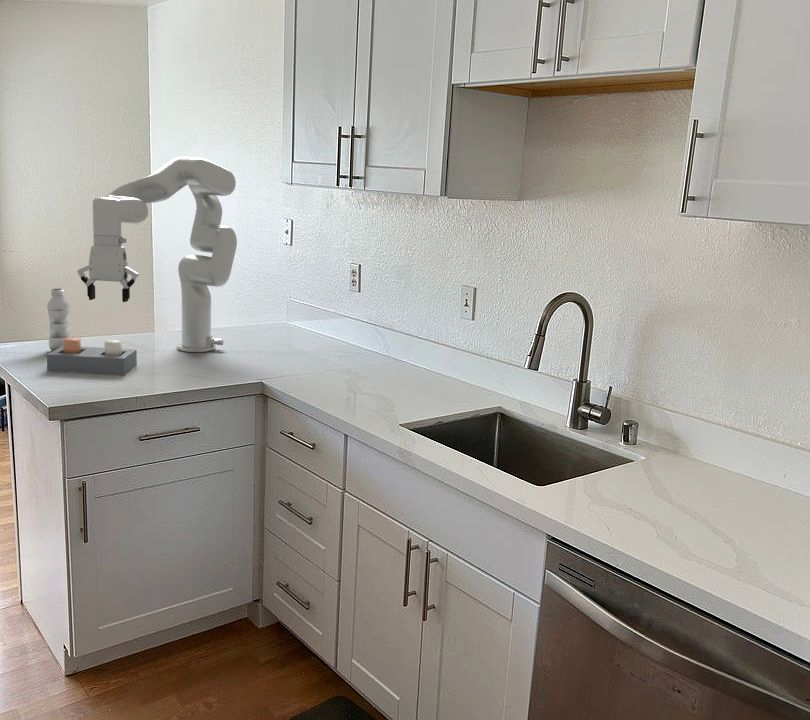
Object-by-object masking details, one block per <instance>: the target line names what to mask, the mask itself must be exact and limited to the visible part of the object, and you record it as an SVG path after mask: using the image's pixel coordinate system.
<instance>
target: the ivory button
mask: <svg viewBox="0 0 810 720" xmlns="http://www.w3.org/2000/svg"><path fill="white" fill-rule="evenodd" d="M103 344H104V348H105V355H113V356H121V355H122V349H123V341H122V340H121V339H108V340H104V343H103Z"/></svg>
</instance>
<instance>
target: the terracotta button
mask: <svg viewBox="0 0 810 720" xmlns="http://www.w3.org/2000/svg"><path fill="white" fill-rule="evenodd" d="M81 342H82V341H81V338H79V337H70V338H65V339H63V353H74V354H79V353H81V347H82V346H81V345H82V344H81Z"/></svg>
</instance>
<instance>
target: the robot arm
mask: <svg viewBox="0 0 810 720" xmlns="http://www.w3.org/2000/svg"><path fill="white" fill-rule="evenodd" d="M236 182H237V181H236V177H235V176H234V174H233V172H232V171H230V170H229V169H227V168H225V167H223V166H222V165H220V164H216V163H215V162H212V161H210V160H208V159H206V158H204V157H203V158H202V157H193V156H190V157H189V156H179V157H175V158H173V159H171V160H170V161H169V162H167V163H166V164H164V165H163V166H162V167H161V166H160V168H158V169H157V170H156V171H154V172H152V174H149V175H148V176H145V177H141V178H139V179H136V180H134V181H131V182H128V183H124V184H123V185H120V186H118V187H117V188H115V189H114V190H112V191H110V193H108V194H107V195H106V196H105V197H104V196H103V197H102V196H99V197H95V198H93V200H92V226H93V227H92V228H93V230H92V231H93V233H92V234H93V244H92V245H91V246H90V252H89V260H88V265H86V266H84V267H82V268H79V269H77V274H78V276H79V277H80V279H81V281H82V282H83V283H84V284H85V286H86V287H87V288H86V290H87V291H86V293H87V297H88V300H89V301H93V300H95V299H96V285H95V284H94V283H95V282H97V281H100V282H117V283H118V282H119V284H121V285H122V287H123V288H122V289H121V293H122V295H121V299H122V300H121V301H122V303H127V302H128V301H129V299H130V297H131V293H130V291H131V289H130V288H131V287H132V286H133V285H134V284H135V283H136V282H137V280H138V278H139V276H140V274H139V272H137V271H135V270H133V269H132V268H130V267H129V264H128V257H127V251H126V247H125V246H123V244H126V243H127V238H124V237H123V236H122V223H124V224H132V225H135V224H136V225H137V224H140V223H142V222H144V221H145V220H146V219H147V218H148V214H149V208H148V205H147V204H152V203H153V204H154V203H160V202H163V201H166V200H169V199H170V198H171V197H173V196H174V195H175V194H176V193H178V192H179V191H181V190H182V189H183V188H184V187H186V186H188V188H189V190H190V192H191V193H192V196H193V197H194V200H195V203H196V204H195V206H196V209H195V215H194V218H193V219H194V220H193V223H192V228H191V233H190V237H189V243H190V247H191V248H192V249H193V250H194V251H198V252H201V253H208V254H211V256H208V255H200V254H189V255H185V256H184V257H182V258H181V260H180V261H179V263H178V266H177V267H178V268H177V269H178V271H177V272H178V277H179V282H180V288H181V342H179V343H177V344H176V348H177V350H179V351H182V352H187V353H207V352H211V351H214V350H216V345H217V346H224V344H225V343H224V341H225V340H224V339H222V338H215V337H214V334H213V333H212V295H211V291H210V289H209V287H213V288H214V287H216V288H219V287H223V286H225V285H226V283H228V281H229V278H230V276H231V272H232V269H233V264H234V260H235V255H236V250H237V244H238V239H237V235H236V232H235V230H234V229H233V228H232V227H230V226H228V225H223V224H222V218H223V207H222V204H221V202H220V199H219V196H220V197H227V196H230V195H231V194H232V193H234V191H235V189H236V184H237V183H236ZM86 272H88V276H89V277H88V276H86ZM129 275H130V276H131V278H130V280H128V278H129Z"/></svg>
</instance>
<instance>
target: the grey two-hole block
mask: <svg viewBox="0 0 810 720" xmlns="http://www.w3.org/2000/svg"><path fill="white" fill-rule="evenodd" d="M137 355H138V353H137V349H133V348H132V349H131V348H122V355H121V356H113V355H105V347H91V346H81V353H79V354H74V353H63V346H61V347H60V348H58V349H56V350H54V351H52V350H51V352H48V353H46V367H47V369H46V370H47V371H46V372H49V371H55V372H54V373H69V372H73V374H88V373H93V375H94V374H95V375H109V376H110V374H111V376H112V375H113V376H126V375H127V374H128V373H130V371H132V370H133V369H134V368H136V367H137V366H138V365H137V364H138V363H137V362H138V359H137V357H138V356H137ZM135 366H136V367H135Z"/></svg>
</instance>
